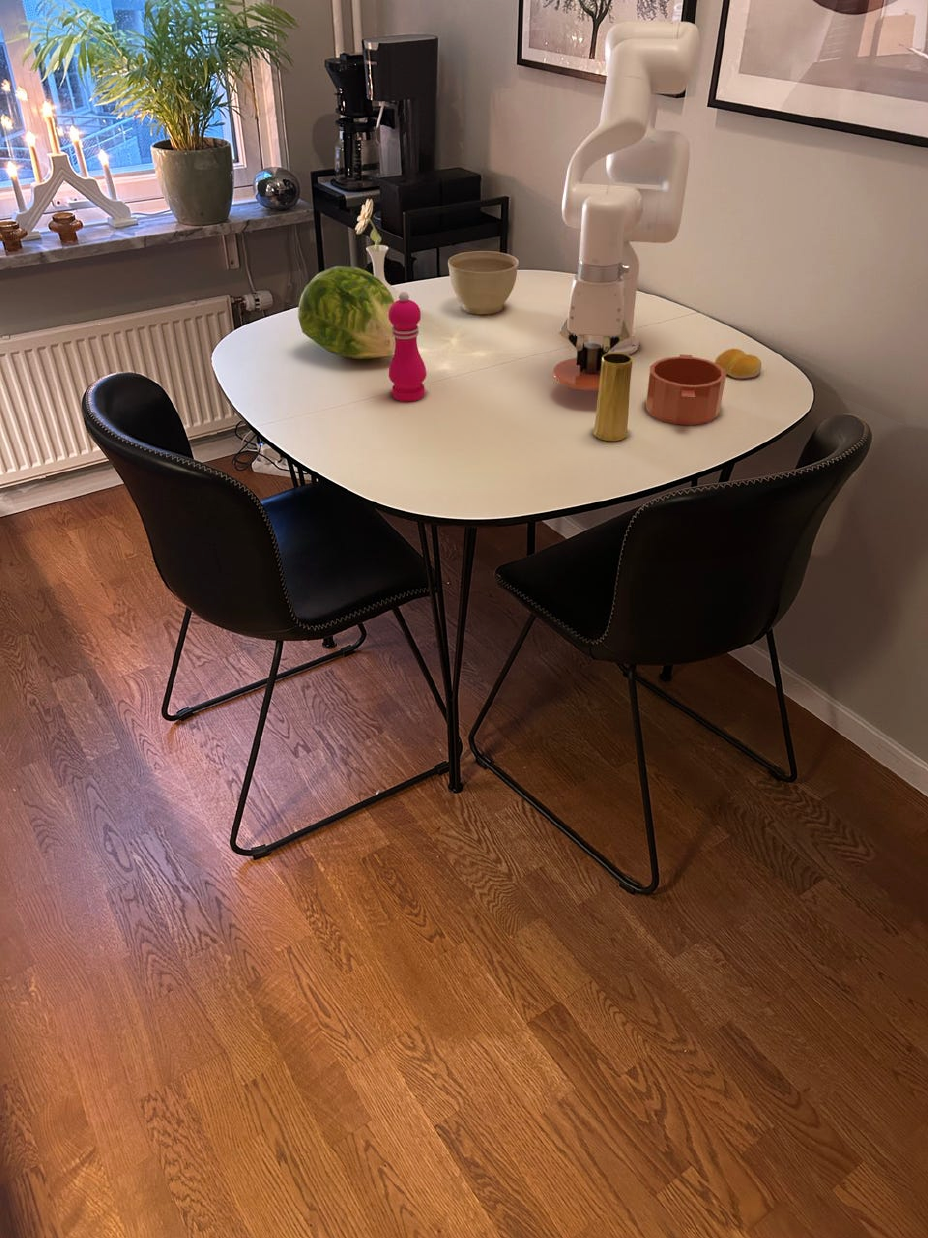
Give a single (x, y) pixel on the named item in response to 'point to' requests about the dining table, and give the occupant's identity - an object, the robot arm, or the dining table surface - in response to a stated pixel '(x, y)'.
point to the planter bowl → (483, 279)
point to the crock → (685, 390)
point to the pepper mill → (406, 351)
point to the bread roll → (739, 364)
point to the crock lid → (585, 379)
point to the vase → (613, 397)
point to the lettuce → (348, 313)
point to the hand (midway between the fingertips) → (591, 368)
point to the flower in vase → (375, 247)
